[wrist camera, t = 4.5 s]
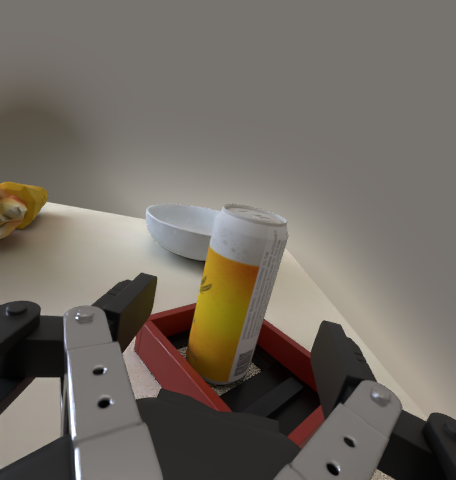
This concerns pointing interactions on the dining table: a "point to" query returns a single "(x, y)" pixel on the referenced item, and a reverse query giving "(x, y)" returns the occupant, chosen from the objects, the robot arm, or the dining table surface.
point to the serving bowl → (182, 228)
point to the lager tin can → (235, 291)
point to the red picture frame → (248, 392)
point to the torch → (19, 205)
